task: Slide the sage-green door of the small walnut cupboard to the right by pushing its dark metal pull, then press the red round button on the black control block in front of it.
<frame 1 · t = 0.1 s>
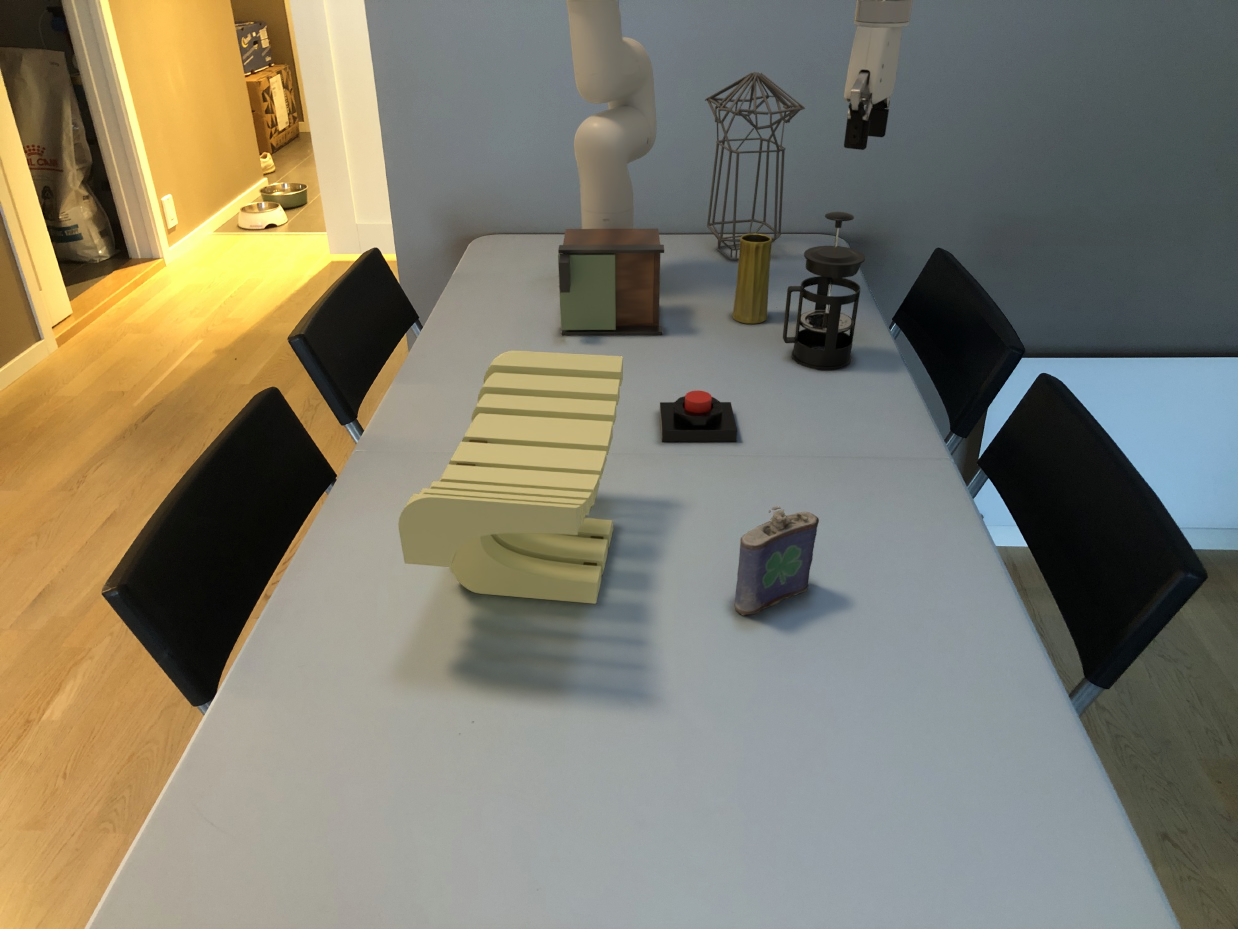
hand: (864, 142, 129), 31 cm above the table, tool pointing down, fingers open, 9 cm apart
geometric lantern: (742, 253, 182), on the table
control block: (696, 427, 119), on the table
vase: (749, 318, 153), on the table
flask: (770, 597, 90), on the table
cupboard: (612, 317, 153), on the table
door: (587, 296, 141), point 7 cm above the table, slide at 0.0 cm
button: (698, 402, 117), point 4 cm above the table, slide at 0.1 cm
french press: (817, 358, 138), on the table
slatted curved stool: (533, 559, 95), on the table
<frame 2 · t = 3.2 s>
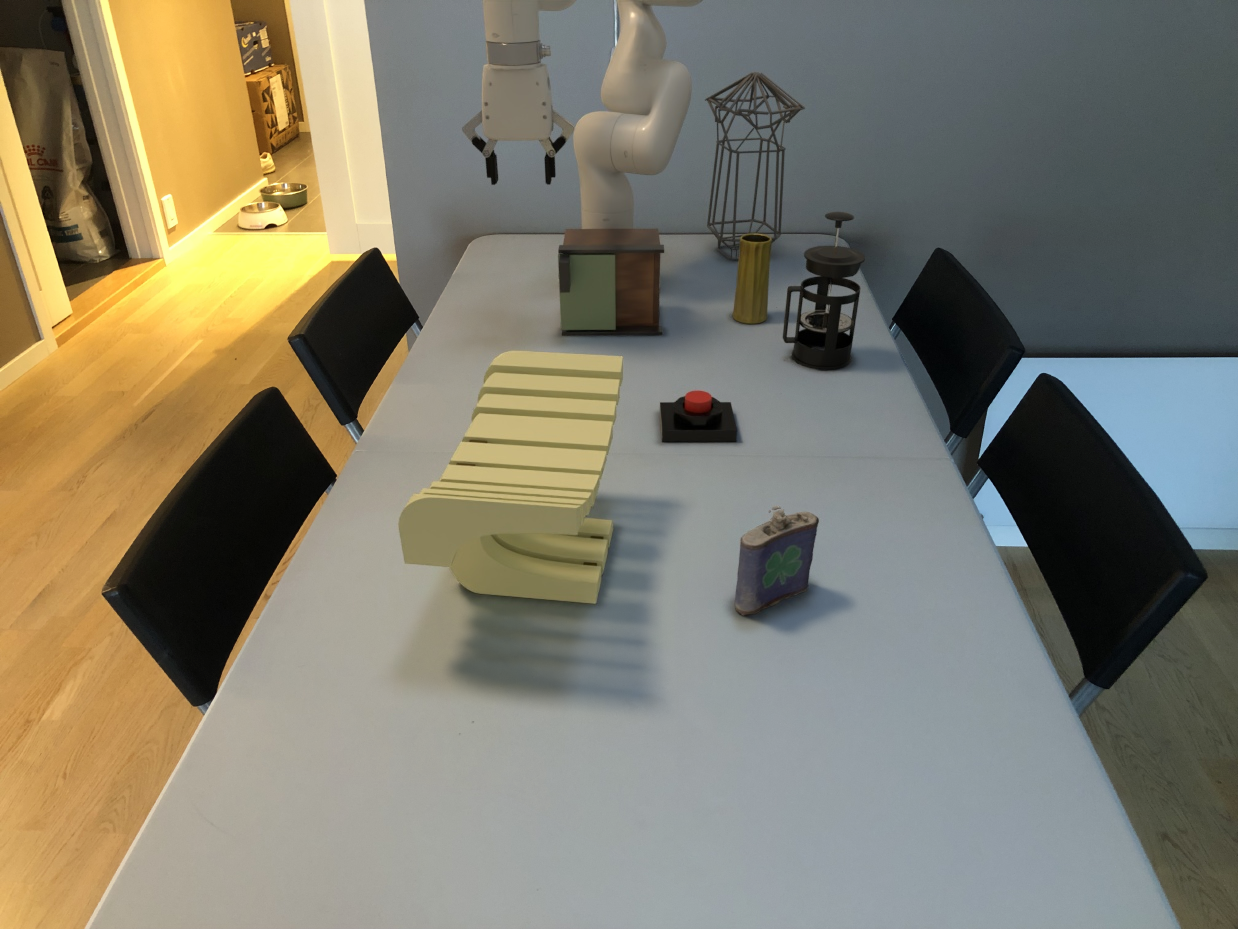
hand: (521, 181, 131), 26 cm above the table, tool pointing down, fingers open, 7 cm apart
nothing on the table moved.
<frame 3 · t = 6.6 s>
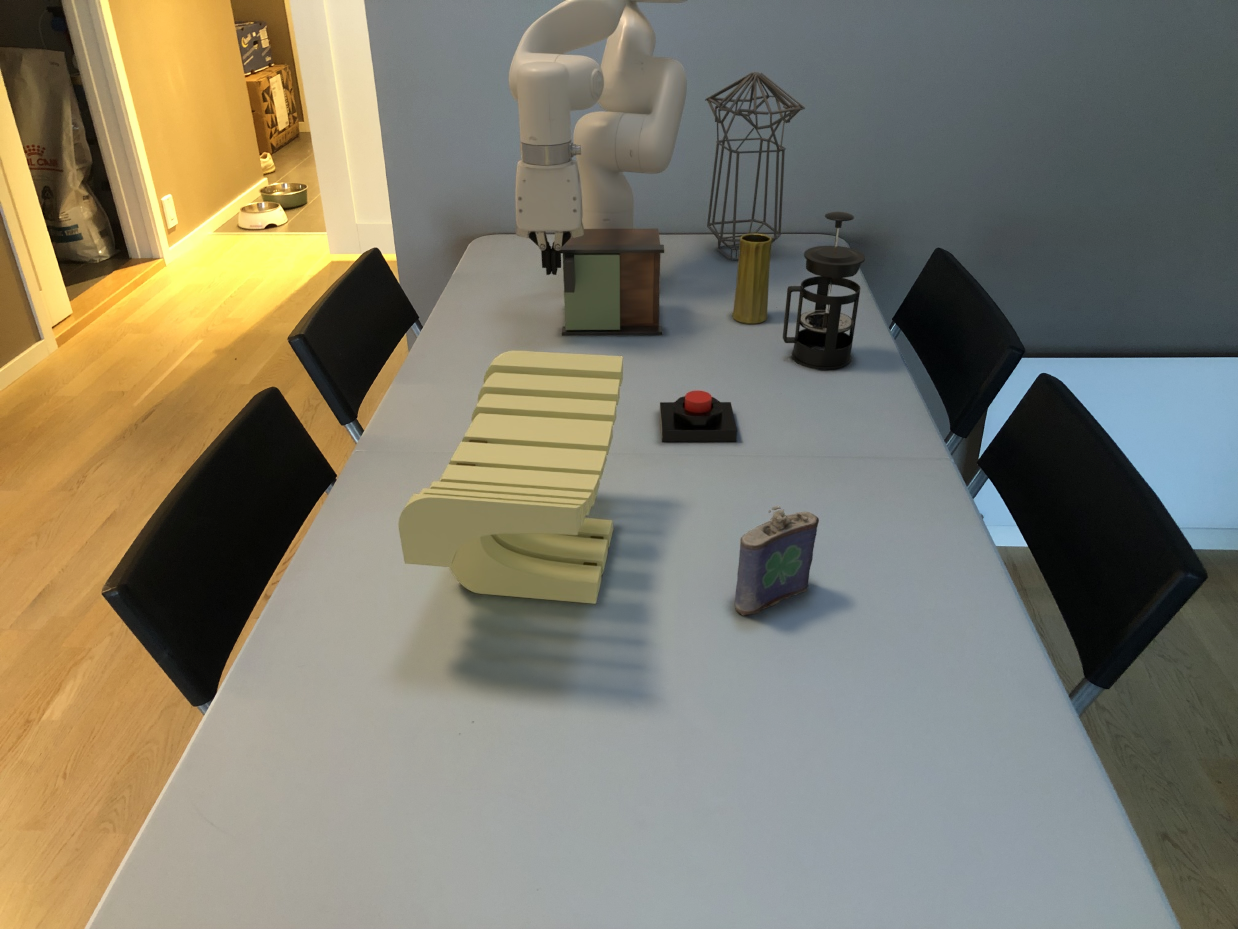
hand: (552, 271, 139), 12 cm above the table, tool pointing down, fingers closed
door: (591, 296, 141), point 7 cm above the table, slide at 0.8 cm
everything else where it was.
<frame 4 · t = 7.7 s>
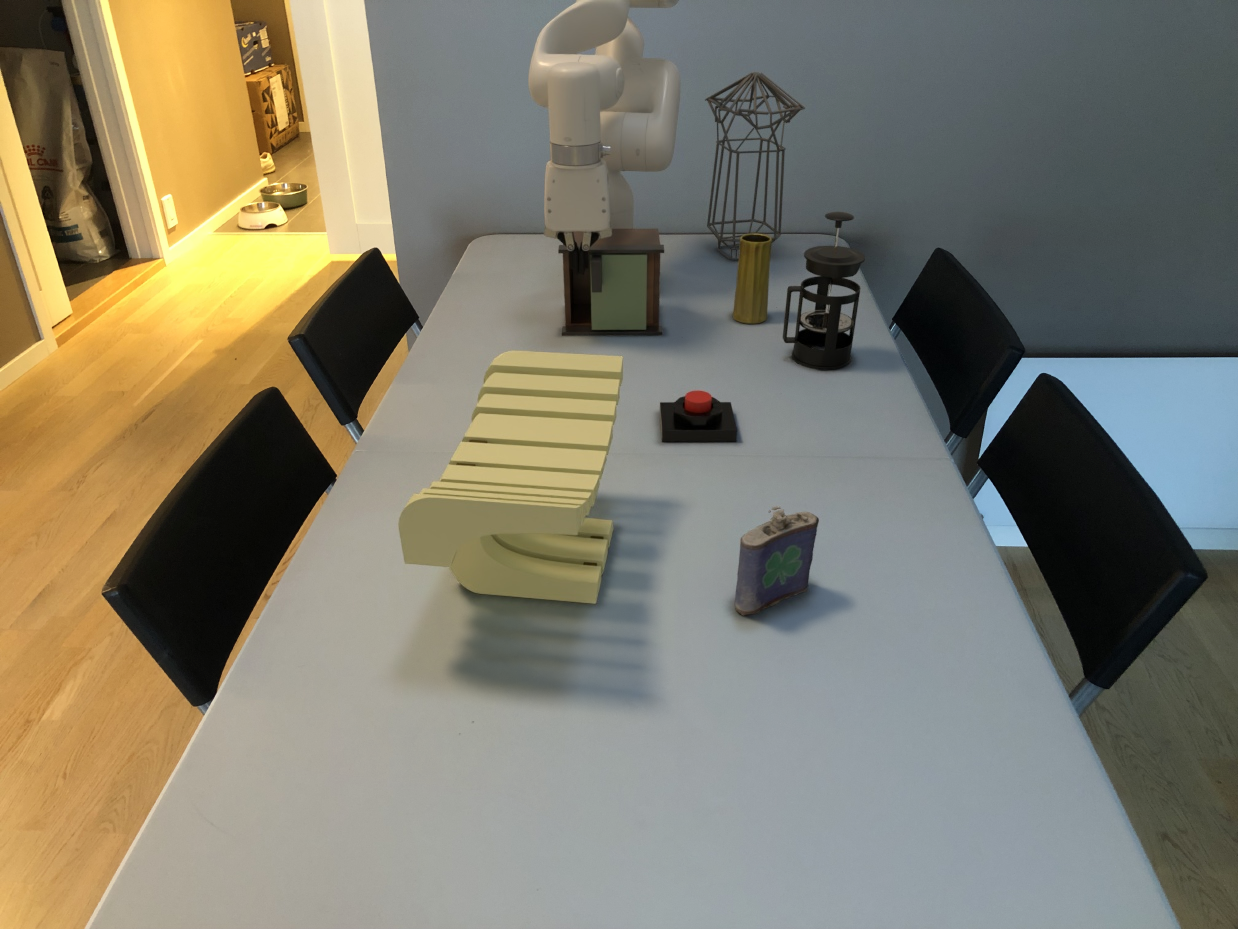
hand: (579, 272, 139), 12 cm above the table, tool pointing down, fingers closed
door: (618, 296, 141), point 7 cm above the table, slide at 5.2 cm, touching gripper
everything else where it was.
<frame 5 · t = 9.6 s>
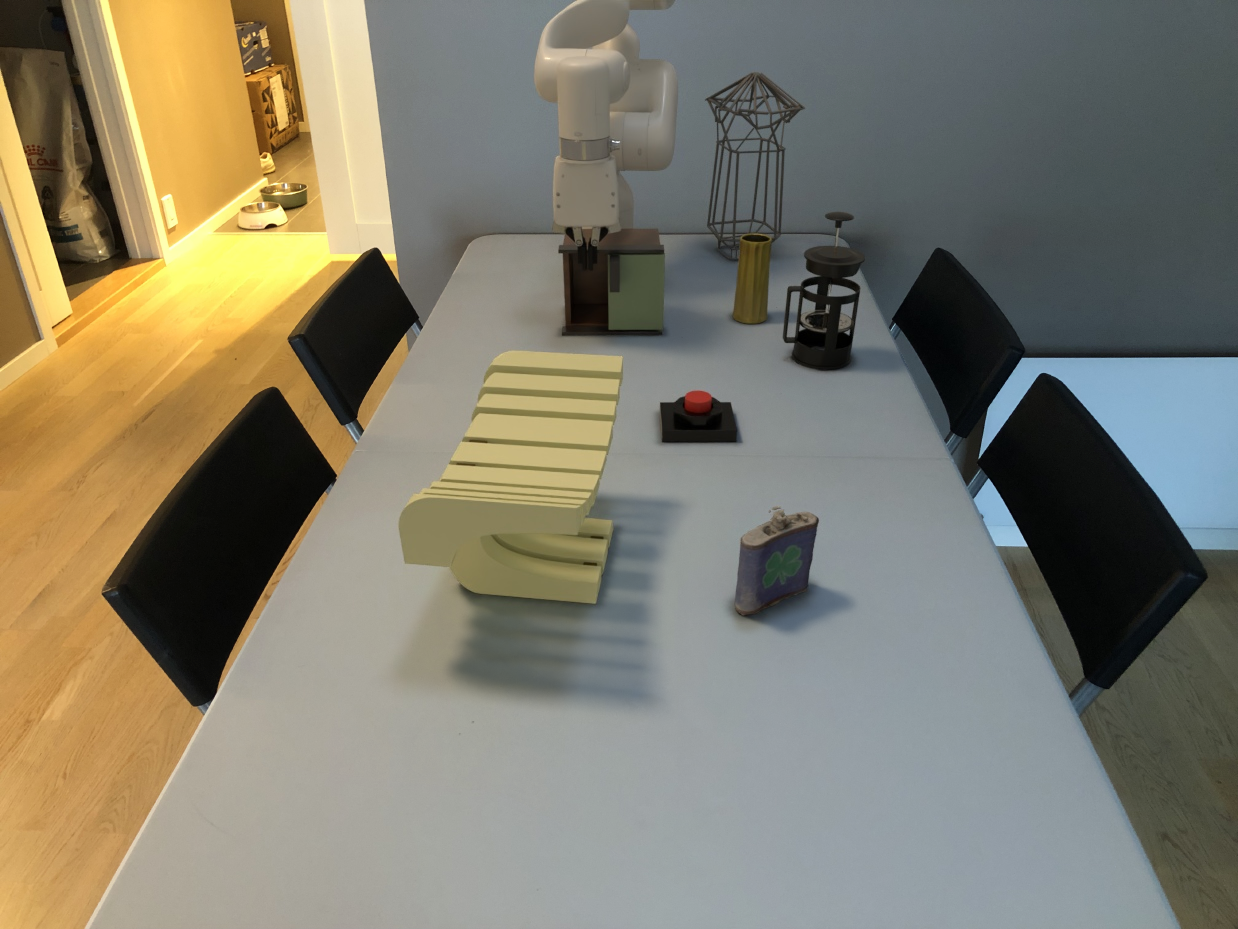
hand: (587, 267, 138), 12 cm above the table, tool pointing down, fingers closed
door: (636, 296, 141), point 7 cm above the table, slide at 8.0 cm
everything else where it was.
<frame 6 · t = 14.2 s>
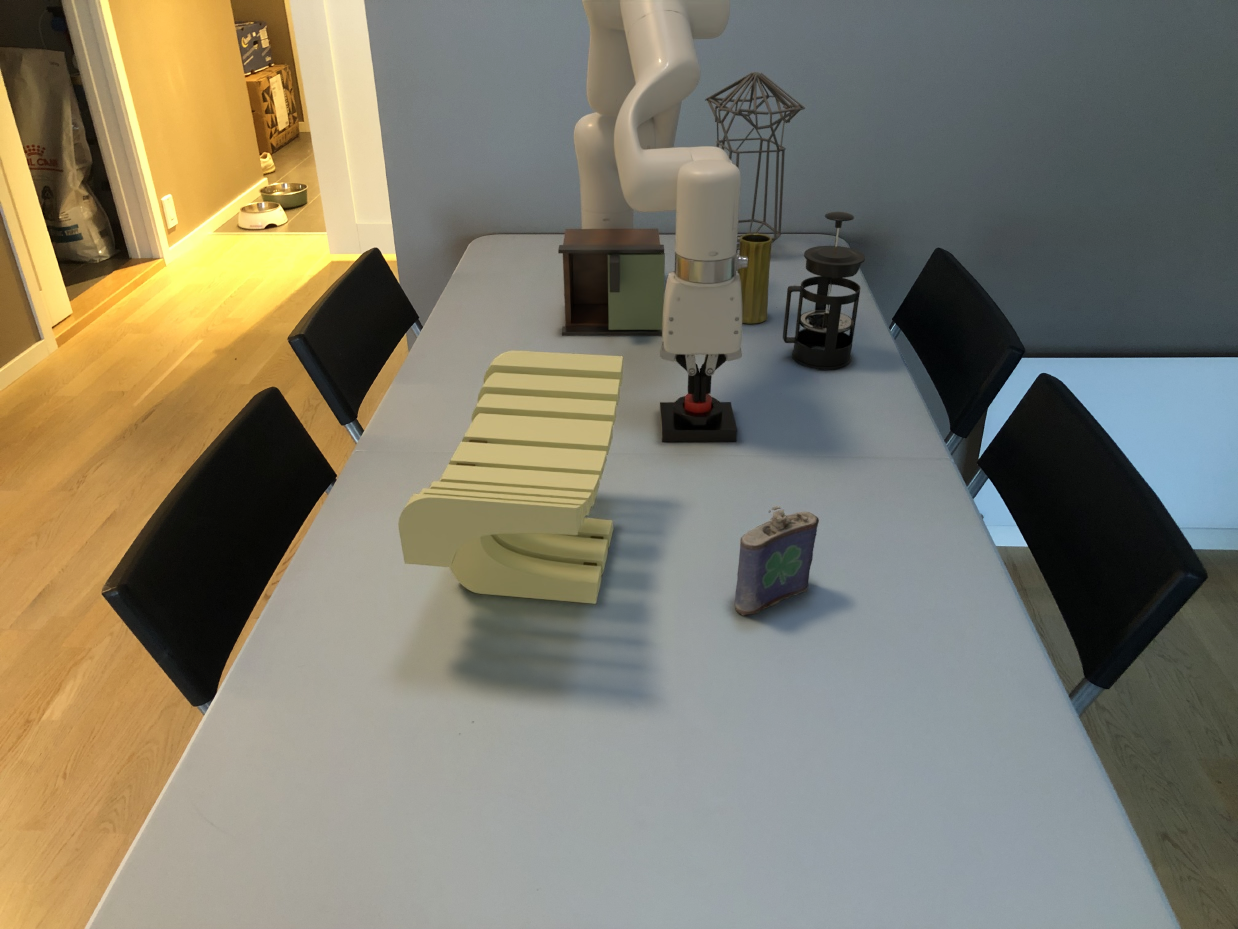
hand: (698, 397, 117), 5 cm above the table, tool pointing down, fingers closed
button: (698, 403, 117), point 4 cm above the table, slide at -0.1 cm, touching gripper
everything else where it was.
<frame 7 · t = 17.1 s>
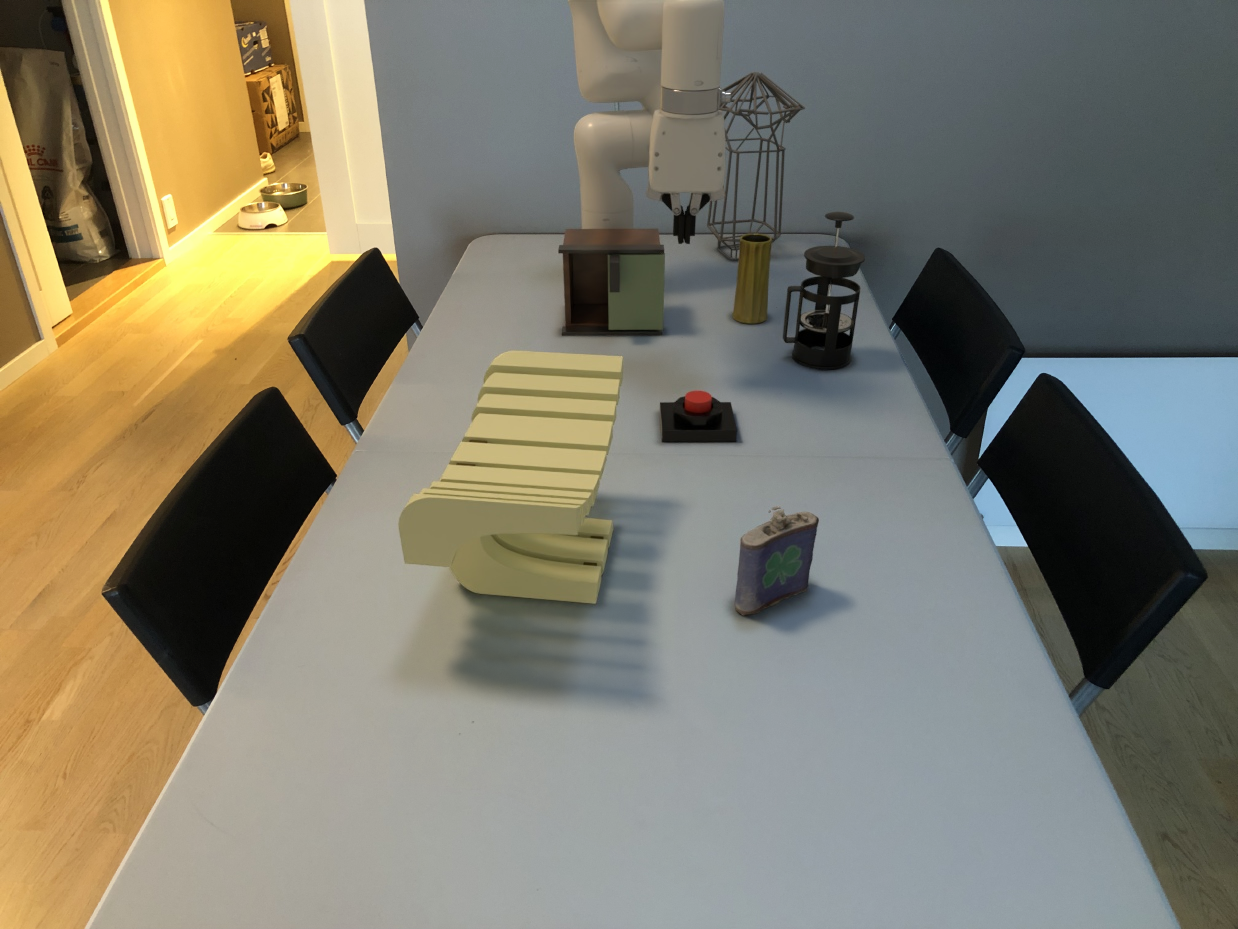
hand: (683, 240, 121), 21 cm above the table, tool pointing down, fingers closed
button: (698, 402, 117), point 4 cm above the table, slide at 0.1 cm
everything else where it was.
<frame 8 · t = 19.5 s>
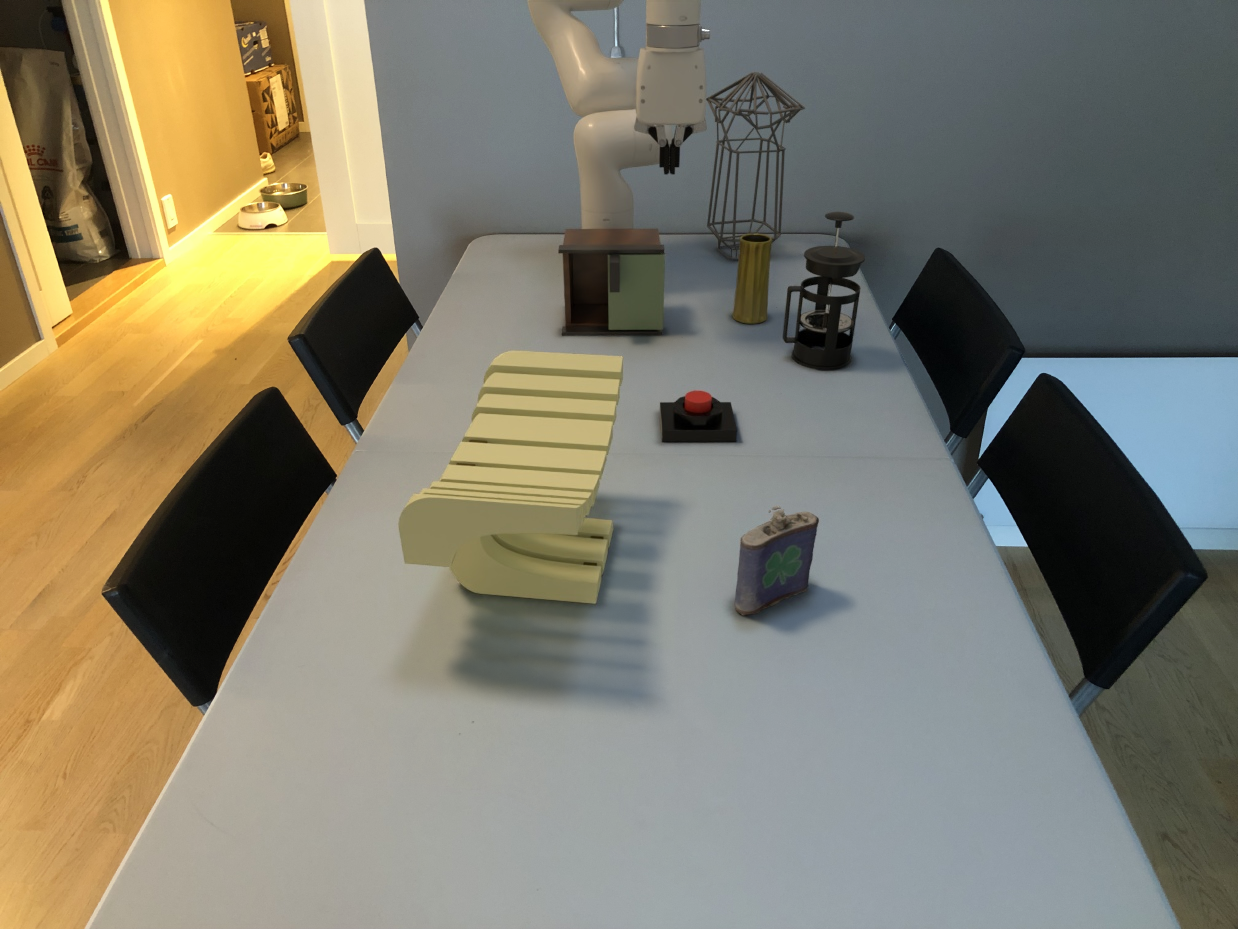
hand: (669, 172, 131), 27 cm above the table, tool pointing down, fingers closed
nothing on the table moved.
at the end: door slide at 8.0 cm; button pushed in 0.9 cm at the most during the clip, back to where it started at the end; button slide at 0.1 cm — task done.
